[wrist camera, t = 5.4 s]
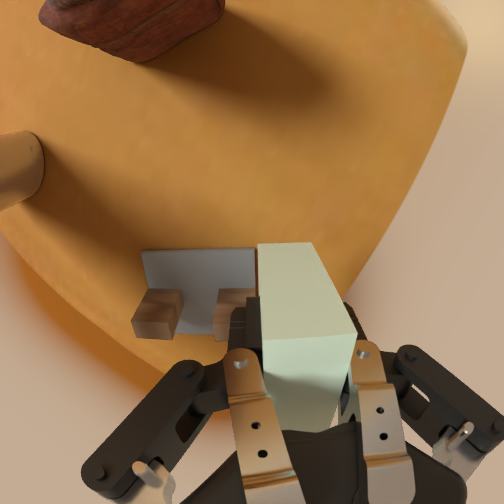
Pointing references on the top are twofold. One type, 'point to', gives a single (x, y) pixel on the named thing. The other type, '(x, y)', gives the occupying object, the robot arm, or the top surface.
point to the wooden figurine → (130, 23)
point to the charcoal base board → (199, 280)
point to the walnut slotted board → (170, 307)
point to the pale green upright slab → (302, 336)
